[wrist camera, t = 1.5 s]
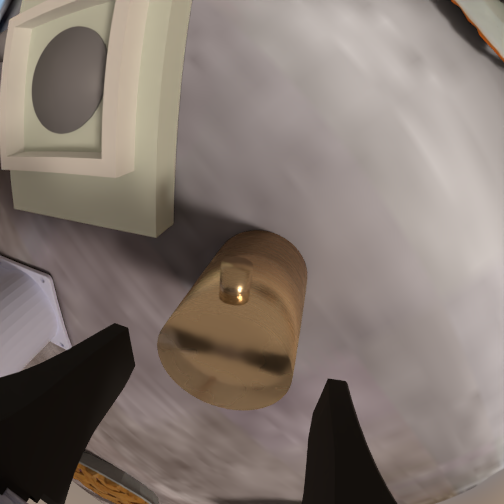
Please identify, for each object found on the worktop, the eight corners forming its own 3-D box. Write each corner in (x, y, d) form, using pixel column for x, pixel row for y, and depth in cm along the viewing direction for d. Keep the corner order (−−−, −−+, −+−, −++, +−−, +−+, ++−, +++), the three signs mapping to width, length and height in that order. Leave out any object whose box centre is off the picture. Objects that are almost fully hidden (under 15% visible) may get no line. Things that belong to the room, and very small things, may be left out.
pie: (48, 430, 42) (36, 447, 37) (133, 466, 36) (121, 490, 32) (102, 483, 50) (93, 498, 46) (182, 511, 44) (174, 530, 40)
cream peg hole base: (13, 196, 19) (-20, 211, 16) (22, 1, 12) (-12, -2, 8) (173, 223, 16) (140, 250, 13) (203, -57, 9) (175, -86, 6)
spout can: (213, 302, 18) (163, 389, 12) (219, 200, 15) (150, 262, 9) (297, 320, 17) (278, 420, 11) (320, 217, 15) (315, 298, 8)
